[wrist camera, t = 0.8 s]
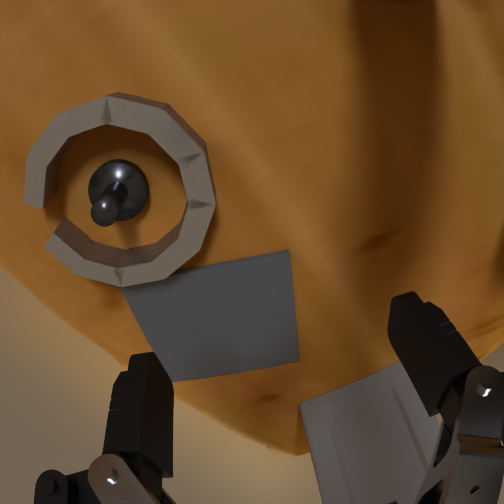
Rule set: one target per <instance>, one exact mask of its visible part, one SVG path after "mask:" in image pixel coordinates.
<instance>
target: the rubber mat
mask: <svg viewBox="0 0 504 504" xmlns="http://www.w3.org/2000/svg"><path fill="white" fill-rule="evenodd" d="M120 288H121V290H122V292H123V294H124V296H125V298H126V300H127V302H128V304H129V306H130V308H131V310H132V312H133V314H134V316H135V318H136V319H137V321H138V323H139V325H140V327H141V329H142V331H143V333H144V334H145V336H146V338H147V340H148V342H149V343H150V345H151V347H152V349H153V351H154V352H155V354H156V356H157V357H158V359H159V361H160V362H161V364H162V366H163V367H164V369H165V370H166V372H167V374H168V375H169V377H170V379H171V381H172V382H176V381H184V380H192V379H200V378H207V377H214V376H221V375H227V374H233V373H239V372H245V371H251V370H256V369H262V368H267V367H272V366H277V365H282V364H287V363H292V362H296V361H299V353H298V340H297V328H296V317H295V306H294V295H293V284H292V274H291V264H290V254H289V251H288V250H285V251H280V252H275V253H269V254H264V255H259V256H254V257H249V258H244V259H238V260H233V261H228V262H223V263H218V264H212V265H207V266H202V267H197V268H192V269H186V270H181V271H176V272H173V273H172V274H170V275H169V276H168V277H167V278H166V279H165V278H164V279H163V280H157V281H152V282H146V283H141V284H136V285H130V286H125V287H120Z"/></svg>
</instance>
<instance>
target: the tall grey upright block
mask: <svg viewBox="0 0 504 504" xmlns="http://www.w3.org/2000/svg"><path fill="white" fill-rule="evenodd" d="M299 408H300V412H301V416H302V421H303V425H304V429H305V433H306V437H307V441H308V445H309V449H310V454H311V458H312V462H313V466H314V470H315V474H316V478H317V483H318V487H319V491H320V495H321V499H322V503H323V504H389V503H391V502H394V501H397V504H414V503H415V500H416V497H417V495H418V492H419V489H420V487H421V484H422V482H423V480H424V478H425V477H426V475H427V473H428V470H429V467H430V464H431V461H432V457H433V454H434V450H435V446H436V443H437V439H438V435H439V430H440V425H439V423H438V421H437V419H436V416H435V415H434V416H432V417H429V415H428V413H427V411H426V409H425V407H424V405H423V403H422V401H421V399H420V397H419V395H418V393H417V391H416V390H415V388H414V386H413V384H412V382H411V380H410V378H409V376H408V374H407V373H406V371H405V369H404V367H403V365H402V363H401V361H399V362H397V363H395V364H393V365H391V366H389V367H387V368H384V369H382V370H380V371H378V372H376V373H374V374H371V375H369V376H367V377H365V378H362V379H360V380H358V381H355V382H353V383H351V384H348V385H346V386H343V387H341V388H338V389H336V390H333V391H331V392H328V393H326V394H323V395H320V396H318V397H315V398H312V399H310V400H307V401H304V402H302V403H300V404H299Z"/></svg>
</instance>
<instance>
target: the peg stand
mask: <svg viewBox="0 0 504 504" xmlns="http://www.w3.org/2000/svg"><path fill="white" fill-rule="evenodd" d="M148 192H149V186H148V181H147V178H146V176H145V174H144V173H143V171H142V170H141V169H140V168H139V167H138V166H137V165H135V164H134V163H132V162H130V161H127V160H122V159H115V160H110V161H108V162H106V163H104V164H103V165H101V166H100V167H99V168H98V169H97V170H96V171H95V173H94V174H93V175H92V177H91V179H90V182H89V187H88V193H89V198H90V201H91V203H92V205H93V207H92V209H91V217H92V219H93V221H94V222H95V223H96V224H98V225H100V226H104V227H106V226H110V225H112V224H113V223H114V221H115V220H117V221H122V220H127V219H130V218H132V217H134V216H136V215H137V214H138V213H139V212H140V211H141V210H142V208H143V207H144V204H145V202H146V200H147V197H148Z"/></svg>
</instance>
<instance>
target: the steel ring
mask: <svg viewBox="0 0 504 504" xmlns="http://www.w3.org/2000/svg"><path fill="white" fill-rule="evenodd" d="M104 124H110V125H114V126H118V127H122V128H126V129H130V130H134V131H138V132H142V133H146V134H149V135H150V136H151V137H152V138H153V139H154V140H155V141H156V142H157V143H158V144H159V145H160V146H161V147H162V148H163V149H164V150H165V151H166V152H167V153H168V154H169V155H170V156H171V157H172V158H173V159H174V160H175V161H176V162H177V164H178V165H179V168H180V172H181V176H182V180H183V184H184V187H185V191H186V195H187V199H188V200H187V203H186V206H185V209H184V213H183V216H182V219H181V222H180V223H179V224H178V225H176V226H175V227H174V228H173V229H172V230H171V231H170V232H168V233H167V234H166V235H165V236H164V237H163V238H162V239H160V240H159V241H158V242H157V243H155V244H150V245H145V246H141V247H136V248H131V249H127V250H124V249H120V248H116V247H112V246H108V245H105V244H101V243H97V242H94V241H93V240H91V239H90V238H89V237H88V236H87V235H86V234H84V233H83V232H82V231H81V230H80V229H79V228H78V227H76V226H75V225H74V224H73V223H72V222H71V221H70V220H69V219H68V218H66V217H65V218H64V219H63V220H62V222H61V223H60V224H59V226H58V227H57V228H56V230H55V231H54V232H53V234H52V235H51V236H50V238H49V239H48V241H47V242H46V243H45V245H44V246H43V247H44V248H46V249H47V250H48V251H49V252H50V253H51V254H53V255H54V256H55V257H56V258H57V259H58V260H60V261H61V262H62V263H63V264H64V265H66V266H67V267H68V268H69V269H71V270H72V271H73V272H74V273H75V274H77V275H78V276H82V277H85V278H89V279H92V280H96V281H100V282H103V283H107V284H111V285H115V286H119V287H125V286H130V285H136V284H141V283H146V282H152V281H157V280H163V279H164V278H165V279H166V278H167V277H168V276H169V275H170V274H172V273H173V272H174V271H175V270H177V269H178V268H179V267H180V266H181V265H183V264H184V263H185V262H186V261H188V260H189V259H190V258H191V257H193V256H194V255H195V254H196V253H198V252H199V250H200V249H201V246H202V243H203V240H204V237H205V235H206V232H207V229H208V226H209V223H210V221H211V218H212V215H213V212H214V209H215V207H216V193H215V186H214V181H213V177H212V172H211V167H210V163H209V158H208V153H207V149H206V144H205V141H204V140H203V139H202V138H201V137H200V136H199V135H198V134H197V133H196V132H195V131H194V130H193V129H192V128H191V127H190V126H189V125H188V124H187V123H186V121H185V120H184V119H183V118H182V117H181V116H180V115H179V114H178V113H177V112H176V111H175V110H174V109H173V108H172V107H171V106H170V105H168V104H166V103H162V102H159V101H155V100H151V99H147V98H143V97H139V96H134V95H130V94H126V93H121V92H116V93H113V94H110V95H107V96H104V97H101V98H98V99H95V100H93V101H90V102H87V103H84V104H82V105H79V106H77V107H74V108H72V109H69V110H67V111H64V112H62V113H60V114H57V115H56V116H55V117H54V118H53V120H52V121H51V122H50V124H49V125H48V126H47V128H46V129H45V131H44V132H43V133H42V135H41V136H40V138H39V139H38V141H37V142H36V143H35V145H34V146H33V148H32V149H31V151H30V152H29V154H28V156H27V162H26V174H25V189H24V204H28V205H31V206H35V207H39V208H42V209H43V208H44V207H45V206H46V205H47V204H48V202H49V201H50V200H51V199H52V198H53V197H54V196H55V195H56V193H57V184H58V175H59V167H60V160H61V155H62V154H63V153H64V151H65V150H66V149H67V148H68V146H69V145H70V144H71V142H72V141H73V140H74V139H75V137H76V136H77V135H78V134H79V133H81V132H84V131H87V130H90V129H92V128H95V127H98V126H101V125H104Z"/></svg>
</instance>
